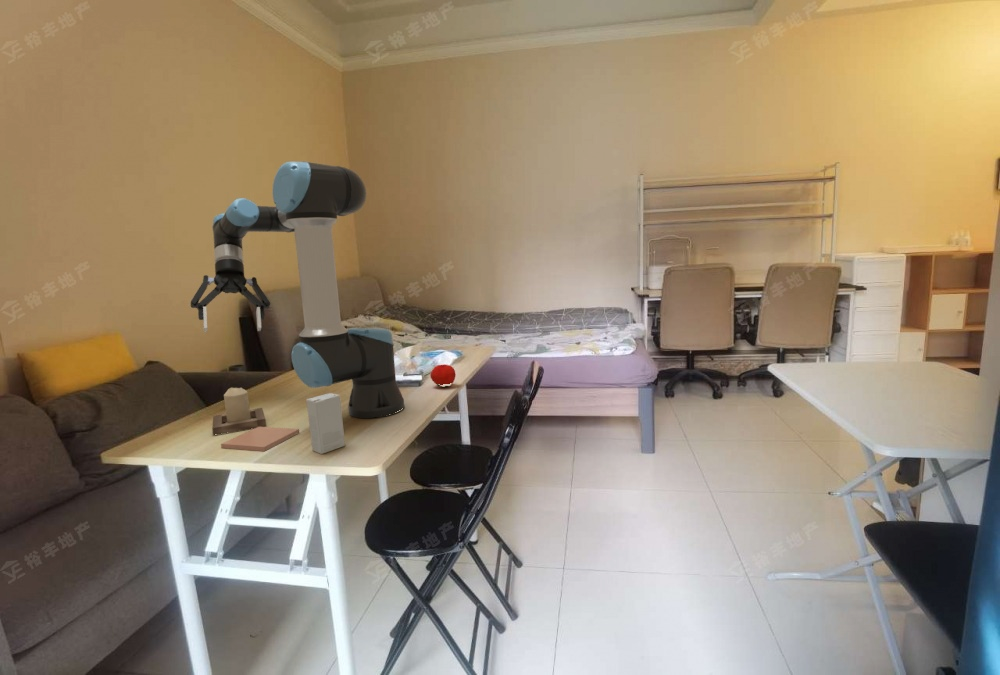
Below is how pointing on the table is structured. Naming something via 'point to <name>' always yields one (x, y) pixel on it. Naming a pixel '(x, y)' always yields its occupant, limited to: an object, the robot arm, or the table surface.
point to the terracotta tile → (260, 438)
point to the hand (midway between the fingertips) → (233, 329)
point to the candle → (237, 405)
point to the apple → (443, 374)
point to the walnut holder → (240, 425)
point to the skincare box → (325, 422)
